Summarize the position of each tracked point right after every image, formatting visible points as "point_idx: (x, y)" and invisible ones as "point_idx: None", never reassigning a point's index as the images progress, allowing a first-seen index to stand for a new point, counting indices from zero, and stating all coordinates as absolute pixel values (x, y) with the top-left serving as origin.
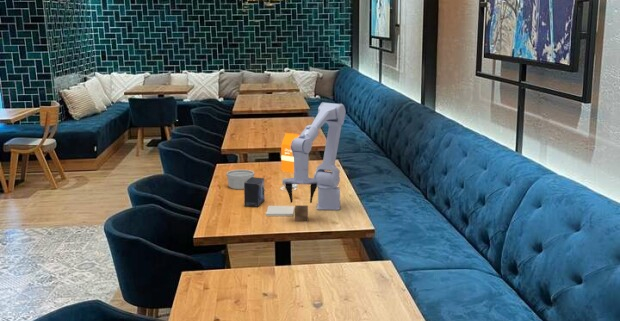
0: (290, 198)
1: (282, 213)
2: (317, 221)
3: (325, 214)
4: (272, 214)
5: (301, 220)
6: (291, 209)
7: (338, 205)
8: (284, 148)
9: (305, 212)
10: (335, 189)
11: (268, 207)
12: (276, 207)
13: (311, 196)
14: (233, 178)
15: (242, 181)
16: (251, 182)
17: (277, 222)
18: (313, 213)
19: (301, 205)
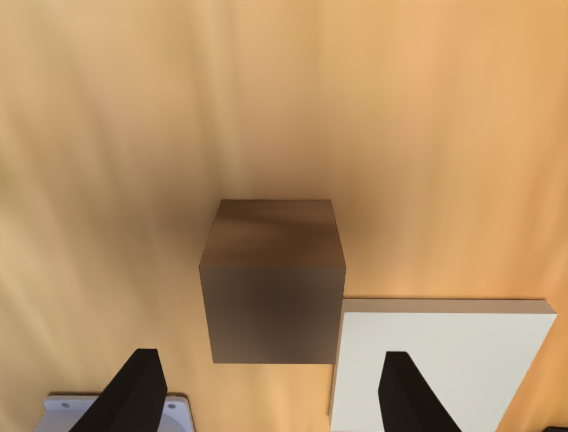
0: (431, 400)
1: (425, 319)
2: (135, 194)
3: (114, 332)
4: (502, 309)
5: (273, 202)
6: (351, 384)
7: (42, 427)
8: None
9: (227, 244)
10: None
11: (501, 411)
12: (448, 411)
13: (89, 429)
14: None
15: None
16: None
17: (488, 164)
18: (200, 347)
19: (275, 363)
